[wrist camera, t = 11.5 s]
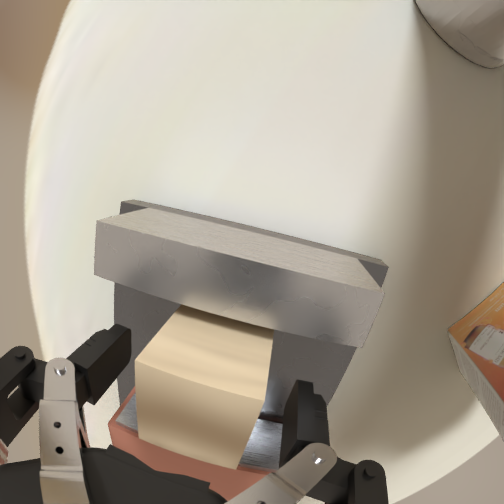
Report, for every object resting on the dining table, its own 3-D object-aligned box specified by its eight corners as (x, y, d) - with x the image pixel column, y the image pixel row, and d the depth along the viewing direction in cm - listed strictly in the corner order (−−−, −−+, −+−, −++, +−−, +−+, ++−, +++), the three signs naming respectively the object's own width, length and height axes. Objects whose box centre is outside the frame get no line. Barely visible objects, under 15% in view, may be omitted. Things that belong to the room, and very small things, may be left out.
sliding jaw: (137, 378, 19) (107, 420, 14) (290, 422, 18) (287, 475, 13) (141, 441, 21) (121, 476, 17) (260, 476, 21) (254, 516, 16)
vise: (133, 199, 17) (65, 212, 11) (380, 259, 16) (425, 303, 10) (130, 429, 23) (104, 471, 17) (278, 471, 22) (273, 521, 16)
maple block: (200, 281, 16) (134, 360, 8) (277, 301, 16) (264, 400, 8) (190, 349, 17) (138, 438, 10) (257, 368, 17) (236, 469, 9)
